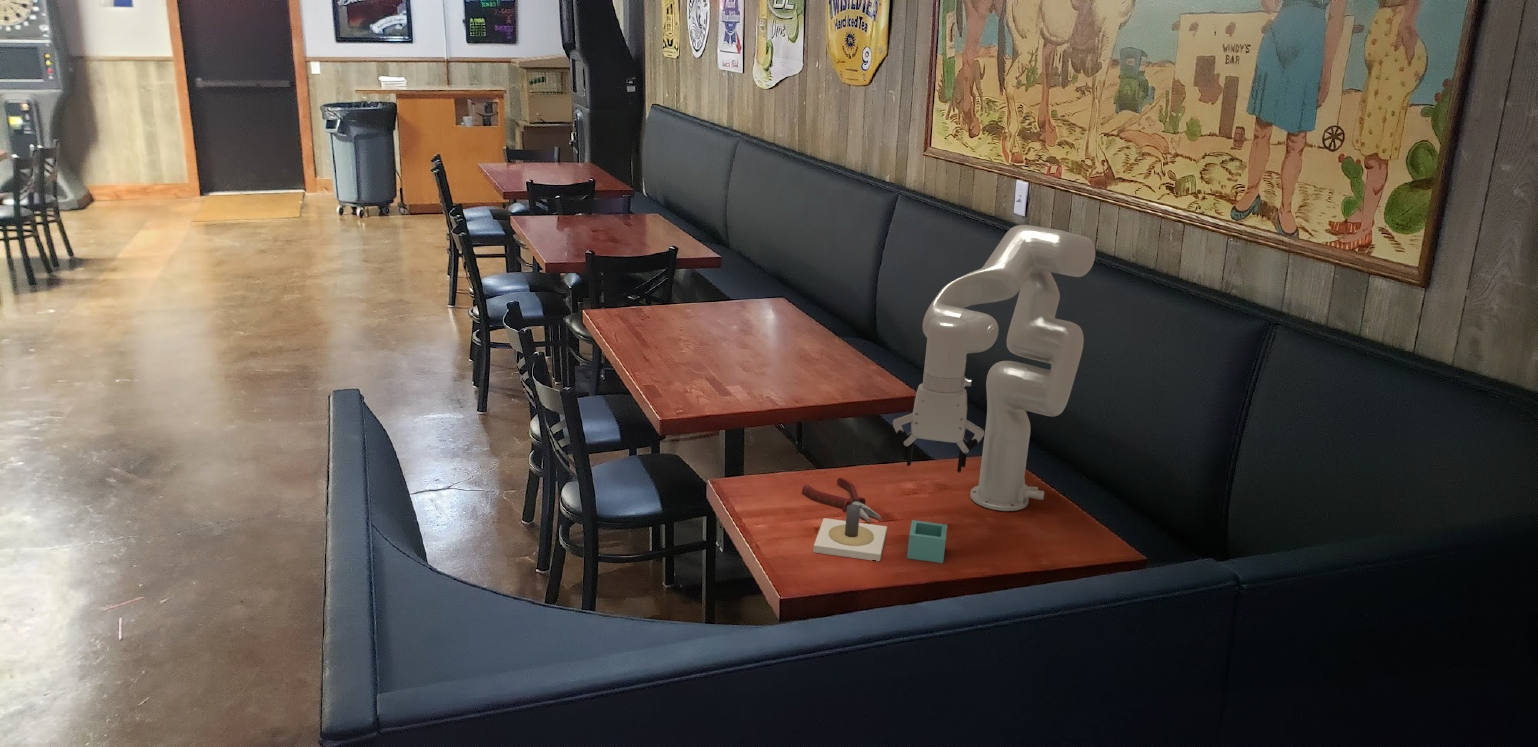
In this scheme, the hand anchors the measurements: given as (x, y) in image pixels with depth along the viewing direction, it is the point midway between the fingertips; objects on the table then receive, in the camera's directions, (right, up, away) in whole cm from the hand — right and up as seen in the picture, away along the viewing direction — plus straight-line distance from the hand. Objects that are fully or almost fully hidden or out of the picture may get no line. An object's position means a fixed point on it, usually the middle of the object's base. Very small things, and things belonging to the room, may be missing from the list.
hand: (934, 466), depth 218 cm
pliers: (-17, -11, +26) cm, 33 cm away
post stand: (-15, -16, +8) cm, 24 cm away
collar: (-1, -17, +5) cm, 18 cm away
